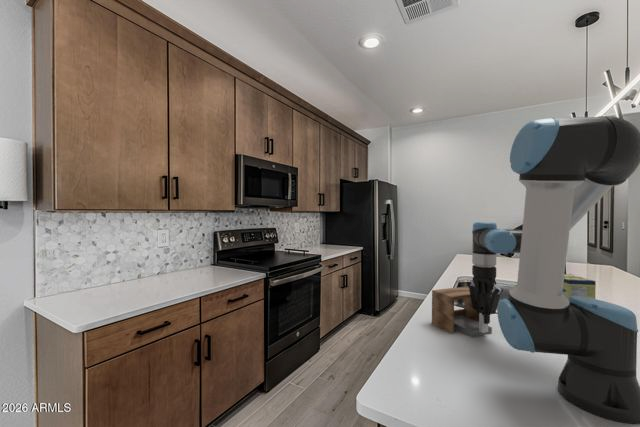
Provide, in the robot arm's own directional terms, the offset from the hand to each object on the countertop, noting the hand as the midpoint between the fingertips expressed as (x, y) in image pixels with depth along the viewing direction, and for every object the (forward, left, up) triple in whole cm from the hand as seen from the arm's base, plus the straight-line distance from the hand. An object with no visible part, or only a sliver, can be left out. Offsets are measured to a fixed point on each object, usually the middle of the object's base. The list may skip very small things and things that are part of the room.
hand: (483, 331), depth 105 cm
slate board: (+8, 0, -2) cm, 8 cm away
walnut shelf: (+11, 0, -2) cm, 11 cm away
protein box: (+7, -63, -2) cm, 63 cm away
